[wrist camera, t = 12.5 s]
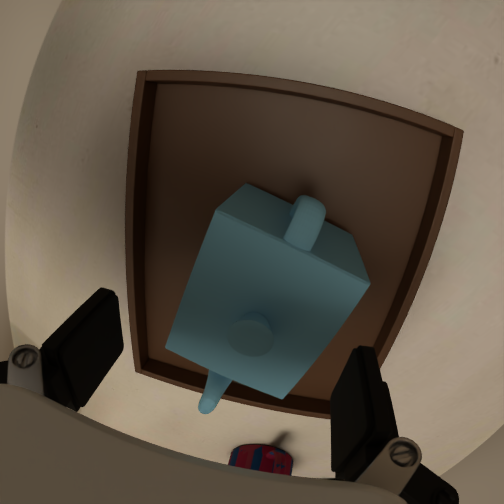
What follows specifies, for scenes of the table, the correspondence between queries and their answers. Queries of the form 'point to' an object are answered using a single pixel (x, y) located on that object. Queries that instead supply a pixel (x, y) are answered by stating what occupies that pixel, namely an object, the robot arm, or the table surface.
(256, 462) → the mug
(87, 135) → the table surface
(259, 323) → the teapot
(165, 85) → the tray
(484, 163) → the table surface
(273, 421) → the table surface
